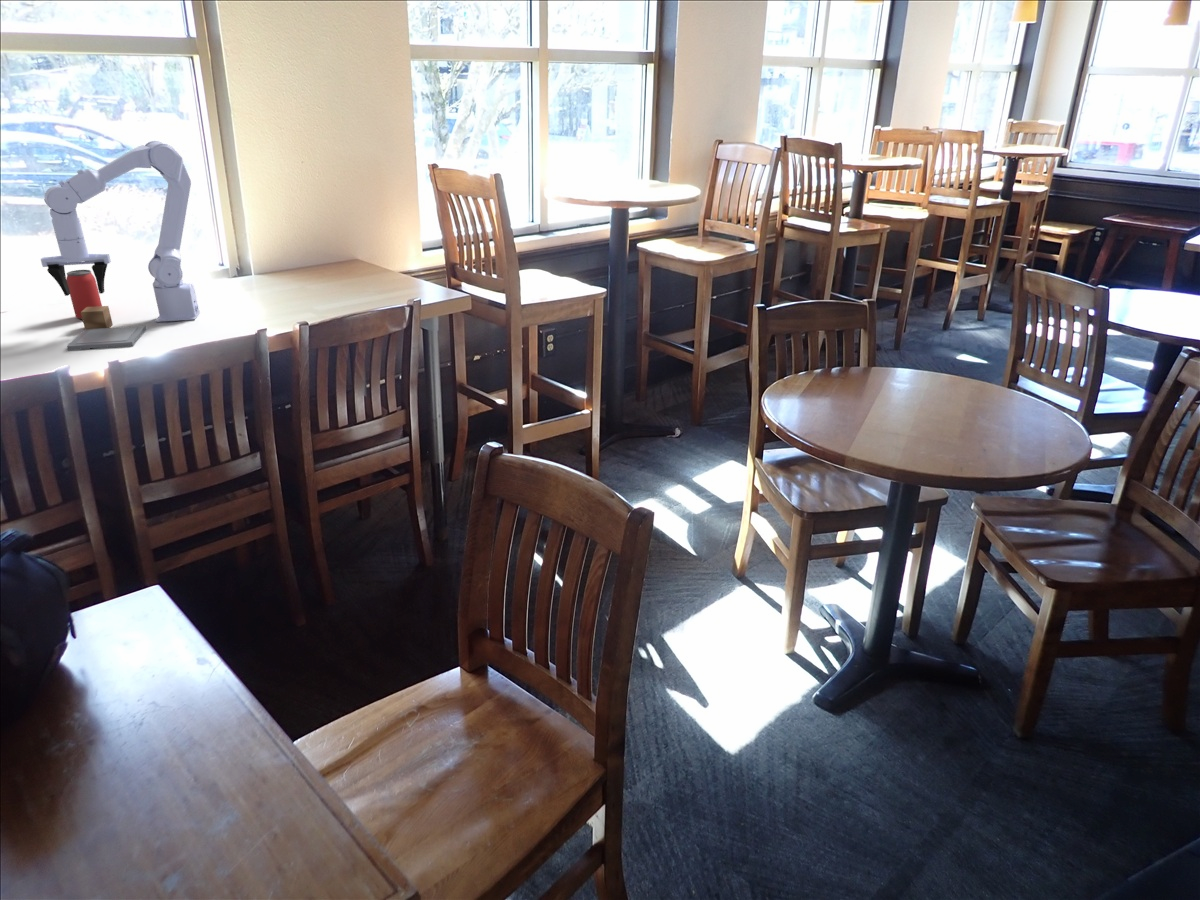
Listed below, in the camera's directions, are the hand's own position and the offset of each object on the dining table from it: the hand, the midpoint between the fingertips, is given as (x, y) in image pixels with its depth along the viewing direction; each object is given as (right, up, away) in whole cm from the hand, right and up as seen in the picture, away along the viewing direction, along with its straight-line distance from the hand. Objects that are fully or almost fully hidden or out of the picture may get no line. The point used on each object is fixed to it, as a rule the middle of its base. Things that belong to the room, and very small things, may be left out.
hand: (84, 293), depth 208 cm
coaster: (+8, -12, -3) cm, 15 cm away
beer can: (-8, -4, +15) cm, 17 cm away
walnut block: (0, -8, +6) cm, 10 cm away
